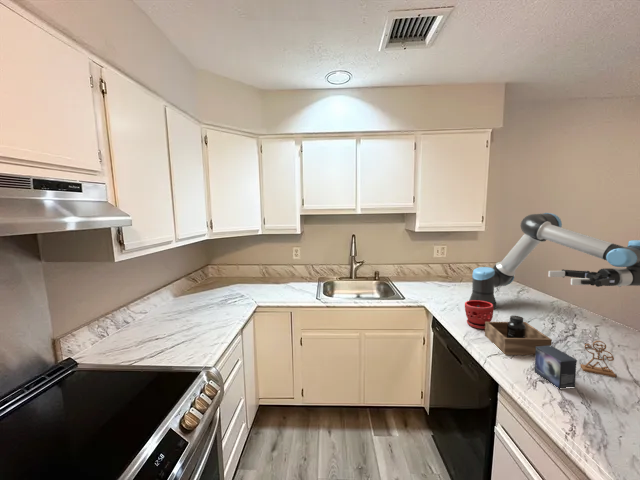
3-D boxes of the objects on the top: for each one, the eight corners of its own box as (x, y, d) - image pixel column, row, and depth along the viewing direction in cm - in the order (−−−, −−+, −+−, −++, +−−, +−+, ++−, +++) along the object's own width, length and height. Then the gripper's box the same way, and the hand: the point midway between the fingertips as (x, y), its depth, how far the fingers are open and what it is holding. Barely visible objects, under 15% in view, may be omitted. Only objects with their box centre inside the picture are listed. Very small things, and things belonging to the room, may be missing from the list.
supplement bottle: (528, 347, 123) (529, 320, 122) (511, 346, 124) (512, 320, 123) (520, 339, 130) (521, 314, 128) (503, 339, 131) (504, 314, 129)
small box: (532, 372, 107) (534, 345, 106) (548, 370, 107) (550, 344, 106) (558, 390, 96) (560, 361, 95) (576, 388, 97) (578, 359, 96)
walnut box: (484, 335, 137) (485, 321, 137) (524, 336, 135) (525, 321, 135) (504, 354, 120) (505, 339, 119) (550, 355, 118) (551, 339, 117)
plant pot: (491, 322, 152) (491, 300, 151) (494, 332, 140) (495, 309, 139) (463, 319, 158) (464, 298, 156) (464, 328, 146) (465, 306, 145)
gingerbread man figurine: (611, 372, 105) (614, 341, 104) (616, 377, 102) (618, 346, 100) (580, 366, 110) (582, 336, 108) (583, 371, 106) (585, 340, 105)
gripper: (641, 294, 111) (581, 294, 113) (588, 278, 135) (540, 278, 138) (643, 275, 110) (583, 276, 112) (589, 262, 134) (541, 263, 137)
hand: (559, 277), depth 125 cm, fingers open, 13 cm apart
